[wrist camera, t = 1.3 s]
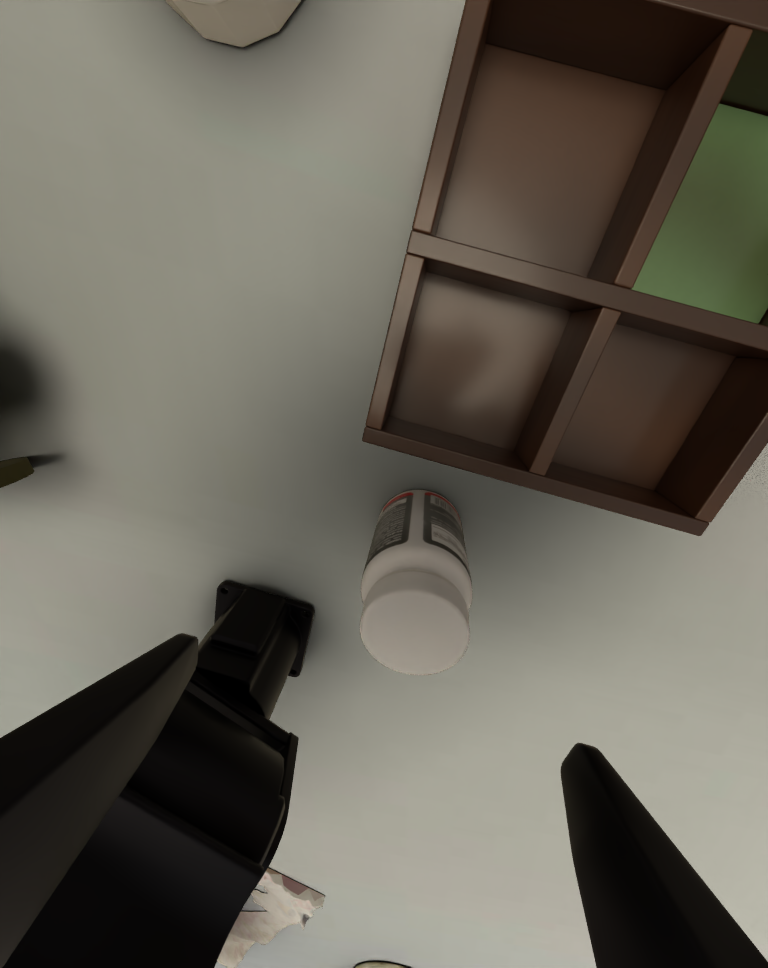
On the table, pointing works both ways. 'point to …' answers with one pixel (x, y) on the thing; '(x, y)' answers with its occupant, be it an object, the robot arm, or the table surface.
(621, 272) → the rack
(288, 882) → the potted flower
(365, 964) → the coffee can
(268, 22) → the white cup
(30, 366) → the table surface
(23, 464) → the cannon
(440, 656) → the pill bottle
